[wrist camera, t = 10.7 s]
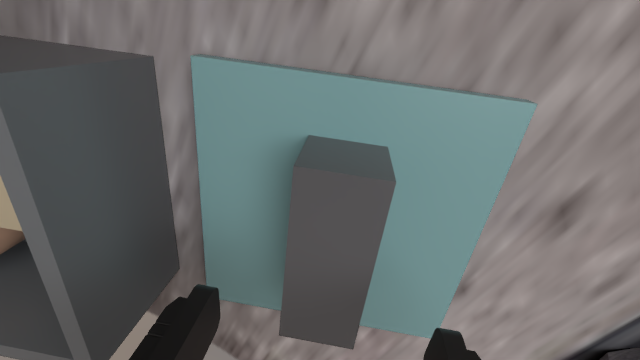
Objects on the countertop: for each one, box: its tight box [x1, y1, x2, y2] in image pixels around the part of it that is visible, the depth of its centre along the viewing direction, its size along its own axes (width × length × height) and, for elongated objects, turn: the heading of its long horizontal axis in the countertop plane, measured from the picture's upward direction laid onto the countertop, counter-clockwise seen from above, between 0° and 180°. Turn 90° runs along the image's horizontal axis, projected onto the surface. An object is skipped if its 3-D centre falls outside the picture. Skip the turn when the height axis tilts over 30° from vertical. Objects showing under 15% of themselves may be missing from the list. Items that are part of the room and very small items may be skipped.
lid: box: [191, 54, 537, 349], centre depth 17 cm, size 16×16×6 cm
